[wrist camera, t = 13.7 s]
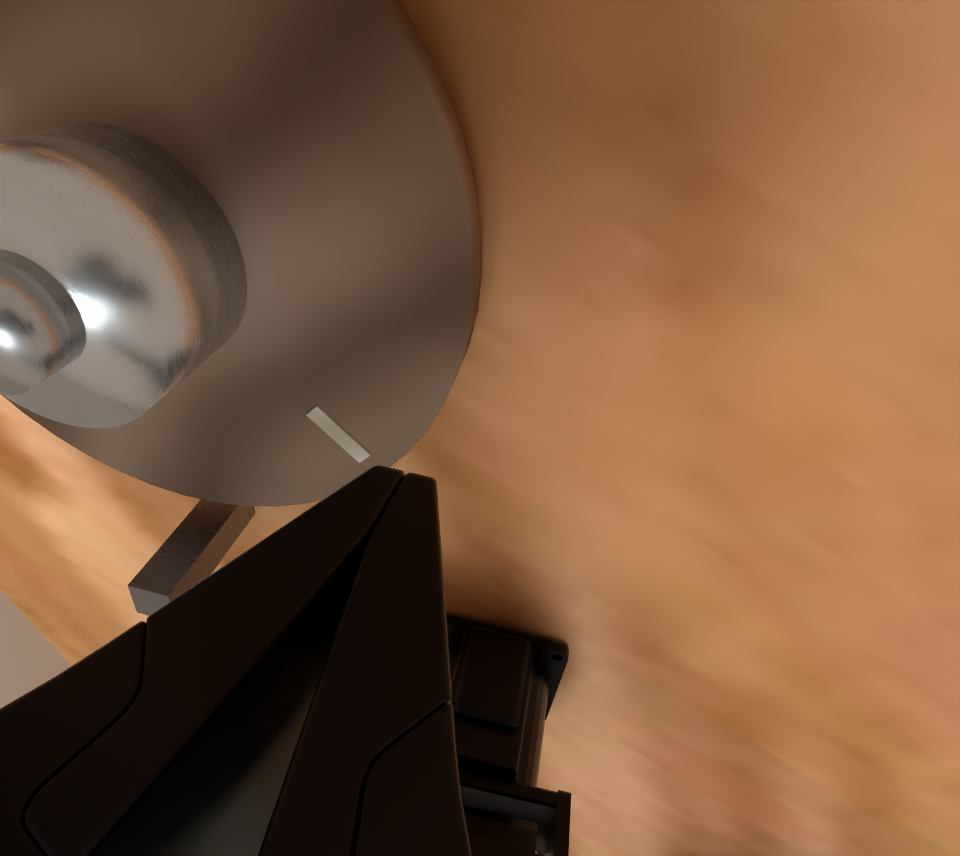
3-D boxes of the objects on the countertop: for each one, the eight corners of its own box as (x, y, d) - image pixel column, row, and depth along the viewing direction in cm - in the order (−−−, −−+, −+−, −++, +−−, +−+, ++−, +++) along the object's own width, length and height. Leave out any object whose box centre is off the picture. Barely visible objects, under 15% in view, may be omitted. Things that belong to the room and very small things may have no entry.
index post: (254, 514, 28) (175, 622, 23) (222, 506, 28) (137, 612, 23) (250, 488, 27) (168, 596, 22) (217, 480, 27) (127, 585, 22)
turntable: (627, 284, 17) (625, 375, 13) (252, 547, 27) (187, 642, 23) (-46, -566, 11) (-449, -896, 7) (-201, 193, 21) (-395, 240, 17)
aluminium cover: (292, 271, 17) (175, 367, 13) (178, 394, 21) (56, 501, 16) (75, 56, 15) (-156, 83, 11) (-10, 236, 19) (-208, 310, 14)
